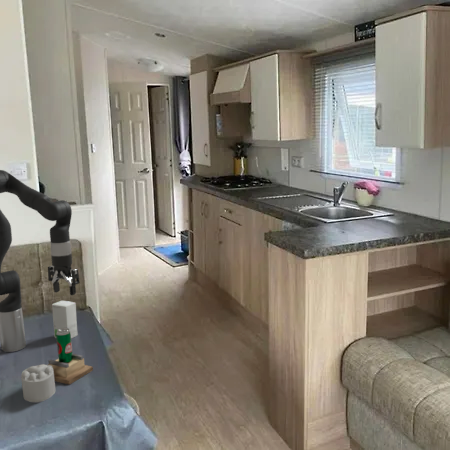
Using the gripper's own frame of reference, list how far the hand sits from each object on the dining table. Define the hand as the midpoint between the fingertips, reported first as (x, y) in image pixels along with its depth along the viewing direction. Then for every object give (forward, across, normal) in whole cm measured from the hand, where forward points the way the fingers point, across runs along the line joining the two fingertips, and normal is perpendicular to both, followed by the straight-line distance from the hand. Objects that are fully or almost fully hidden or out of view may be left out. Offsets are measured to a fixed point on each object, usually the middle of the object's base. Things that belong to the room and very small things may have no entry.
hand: (64, 293), depth 194 cm
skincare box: (+28, -19, +16) cm, 37 cm away
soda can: (+22, +10, -11) cm, 26 cm away
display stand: (+26, +10, -11) cm, 30 cm away
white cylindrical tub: (+27, +12, -26) cm, 39 cm away
